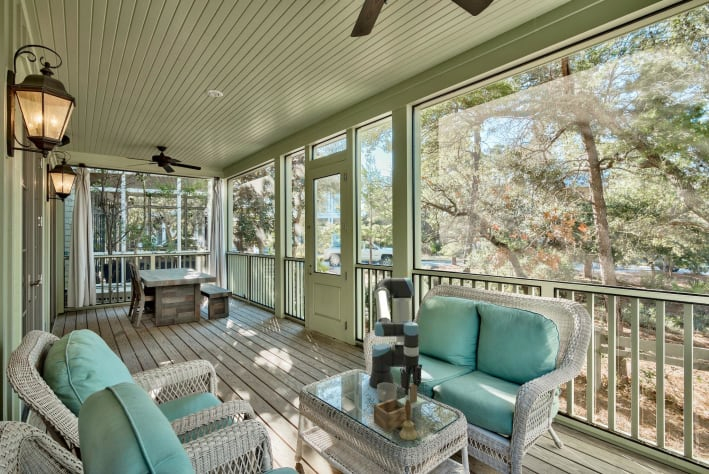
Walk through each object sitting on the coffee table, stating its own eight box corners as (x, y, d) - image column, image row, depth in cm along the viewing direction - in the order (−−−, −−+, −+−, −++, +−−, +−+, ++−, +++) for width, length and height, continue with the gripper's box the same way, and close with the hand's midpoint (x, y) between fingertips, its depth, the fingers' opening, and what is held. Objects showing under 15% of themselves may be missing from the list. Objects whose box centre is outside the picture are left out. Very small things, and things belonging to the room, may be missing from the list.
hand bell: (411, 442, 150) (411, 406, 150) (395, 435, 155) (395, 400, 155) (421, 434, 156) (421, 399, 156) (405, 427, 162) (405, 394, 161)
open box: (395, 412, 175) (395, 397, 175) (410, 422, 166) (410, 406, 166) (373, 421, 167) (373, 405, 167) (388, 431, 158) (388, 415, 158)
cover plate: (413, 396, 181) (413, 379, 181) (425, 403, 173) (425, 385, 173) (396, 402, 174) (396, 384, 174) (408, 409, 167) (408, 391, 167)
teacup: (381, 394, 195) (381, 380, 195) (399, 398, 190) (399, 384, 190) (371, 405, 183) (371, 390, 183) (390, 410, 178) (390, 394, 178)
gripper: (418, 348, 181) (418, 392, 182) (393, 355, 172) (393, 401, 172) (428, 352, 175) (428, 398, 175) (403, 359, 166) (403, 407, 166)
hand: (411, 399), depth 174 cm, fingers closed on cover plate, 4 cm apart
